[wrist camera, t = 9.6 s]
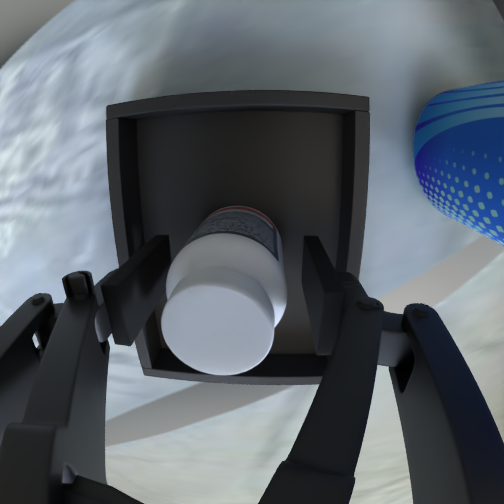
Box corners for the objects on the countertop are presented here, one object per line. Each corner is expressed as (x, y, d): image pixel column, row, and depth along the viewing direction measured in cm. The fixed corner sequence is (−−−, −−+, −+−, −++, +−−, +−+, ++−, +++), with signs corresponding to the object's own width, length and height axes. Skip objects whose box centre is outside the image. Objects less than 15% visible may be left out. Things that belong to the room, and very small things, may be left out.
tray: (128, 109, 16) (105, 105, 13) (353, 103, 16) (369, 96, 13) (155, 351, 22) (143, 375, 19) (332, 357, 22) (339, 383, 19)
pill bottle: (183, 220, 18) (117, 284, 10) (266, 192, 17) (264, 239, 9) (214, 296, 20) (180, 395, 11) (292, 274, 19) (307, 371, 10)
